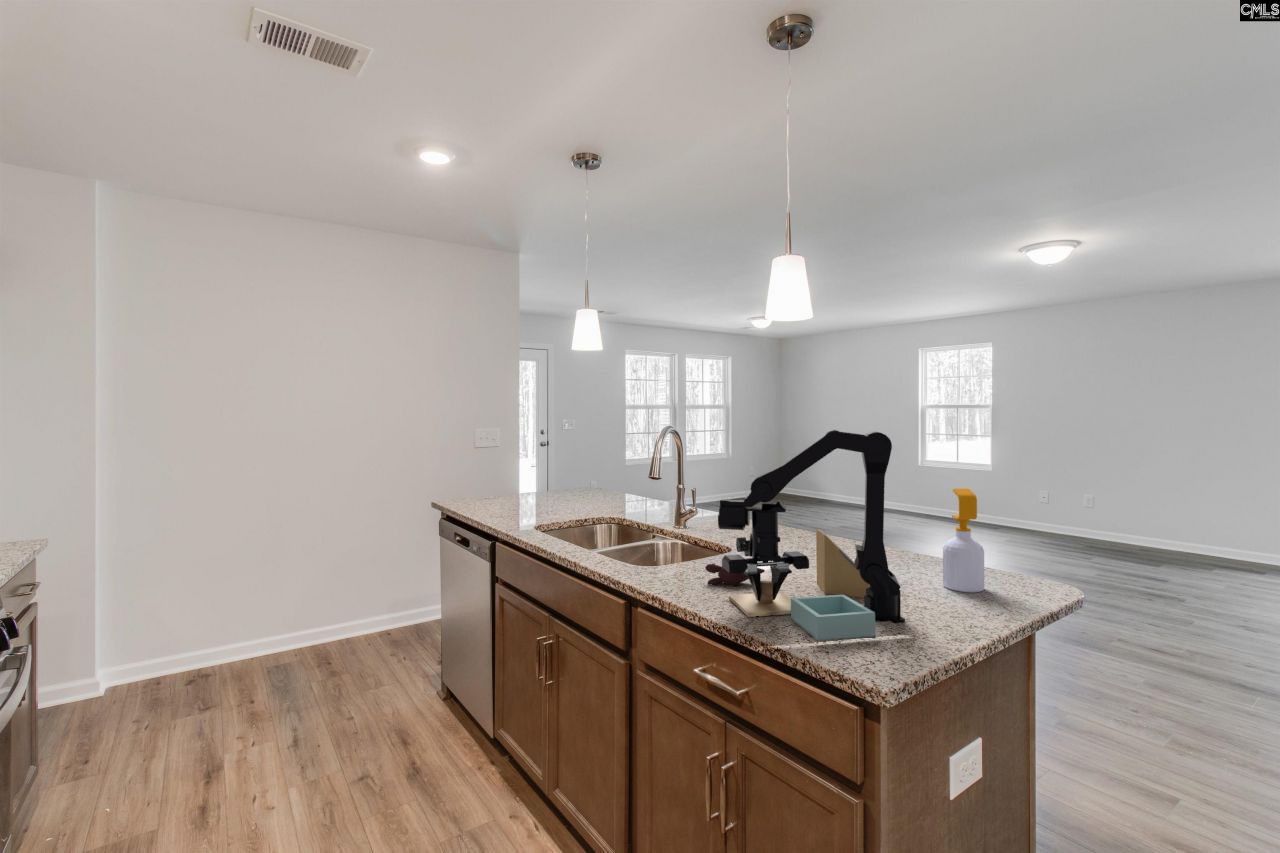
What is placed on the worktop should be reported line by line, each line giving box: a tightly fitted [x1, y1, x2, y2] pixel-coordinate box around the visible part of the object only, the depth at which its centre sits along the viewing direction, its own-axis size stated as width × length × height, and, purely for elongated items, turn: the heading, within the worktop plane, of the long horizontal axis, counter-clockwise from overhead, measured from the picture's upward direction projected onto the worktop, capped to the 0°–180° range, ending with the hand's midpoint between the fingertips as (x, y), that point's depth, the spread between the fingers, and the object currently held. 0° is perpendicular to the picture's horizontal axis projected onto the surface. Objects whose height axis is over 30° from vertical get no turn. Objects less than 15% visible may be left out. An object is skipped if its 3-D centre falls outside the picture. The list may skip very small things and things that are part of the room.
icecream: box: [705, 563, 766, 587], centre depth 153 cm, size 7×7×15 cm
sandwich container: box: [815, 528, 870, 597], centre depth 147 cm, size 9×15×15 cm, turn 86°
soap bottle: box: [942, 488, 985, 594], centre depth 148 cm, size 9×9×25 cm
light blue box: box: [790, 594, 876, 641], centre depth 121 cm, size 12×12×5 cm
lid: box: [728, 579, 792, 618], centre depth 134 cm, size 13×13×5 cm
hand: (765, 600), depth 134 cm, fingers closed on lid, 3 cm apart
